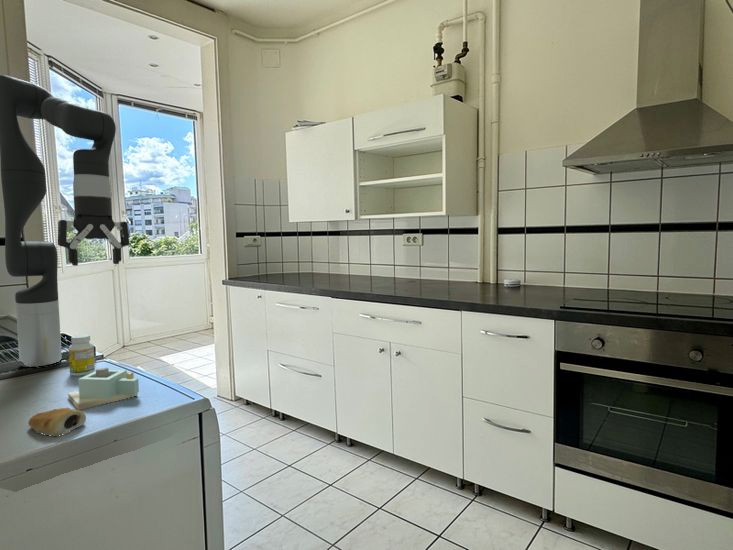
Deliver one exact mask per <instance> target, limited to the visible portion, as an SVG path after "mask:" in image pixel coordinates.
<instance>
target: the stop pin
mask: <svg viewBox="0 0 733 550" xmlns="http://www.w3.org/2000/svg"><path fill="white" fill-rule="evenodd" d="M134 373H135V372H127V374H126V378H135V374H134Z"/></svg>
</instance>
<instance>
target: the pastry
mask: <svg viewBox="0 0 733 550" xmlns="http://www.w3.org/2000/svg"><path fill="white" fill-rule="evenodd" d="M86 421H87V416H86V414H85V413H84V411H82V410H78V409H73V408H72V409H71V408H69V407H60V408H54V409H51V410H47V411H43V412H42V411H41V412H38V413H36V414H33V415H32V416H31V418H30V419H29V420H28V422H27V423H28V426H29V427H30V428H32V429H33V430H34V431H35V433H36V434H37V433H43V434H45V435H51V436H59V435H62V434H65V433H67V432H69V431H71V430H73V429H74V430H76V429H75V428H77V427H79V428H80V427H82V426H83V425H84V424H85V423H86ZM77 429H78V428H77ZM74 430H73V431H74ZM71 432H72V431H71ZM69 433H70V432H69ZM67 434H68V433H67ZM45 435H44V436H45ZM65 435H66V434H65ZM62 436H63V435H62ZM59 437H60V436H59Z"/></svg>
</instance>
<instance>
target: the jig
mask: <svg viewBox="0 0 733 550" xmlns="http://www.w3.org/2000/svg"><path fill="white" fill-rule="evenodd" d="M109 370H110V369H109V368H108V367H100V368H95V371H96V378H107V377H109ZM138 393H139V392H138ZM138 393H136V394H135V395H134V394H116V395H114V396H112V397H111V398H79V390H76V391H75V390H74V391H71V392H68V394H67V395H68V396H67V397H68V399H69V401H70V402H71V403H72V405H74V407H75V408H76V410H80V411H82V410H86V409H90V408H93V407H94V408H95V407H98V405H99V406H102V404H103V405H107V404H111V403H115V401H116V402H119V400H120V401H123V400H122V399H124V400H127V399H126V398H128V399H131V398H130V397H132V398H135V397H134V396H137V395H138ZM137 397H138V396H137ZM110 402H111V403H110ZM106 403H107V404H106ZM81 409H82V410H81Z"/></svg>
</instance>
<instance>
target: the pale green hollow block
mask: <svg viewBox="0 0 733 550" xmlns="http://www.w3.org/2000/svg"><path fill="white" fill-rule="evenodd" d="M127 373H128V372H127V369H109V377H107V378H96V370H95V371H94V372H92V373H90V374H88V375H83V376H82V377H80V378H78V391H79V398H111V397H112V396H114V395H116V394H134V395H135V394H136V393H140V391H139V390H140V388H139V387H140V386H139V383H140V382H139V378H138V377H137V378H136V377H134V378H126V374H127Z"/></svg>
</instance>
